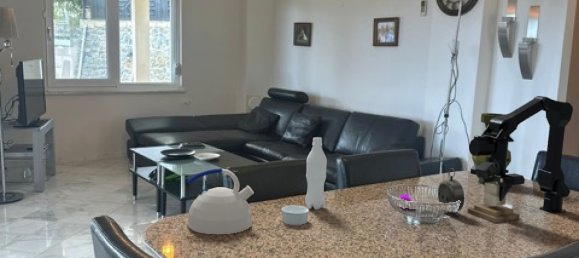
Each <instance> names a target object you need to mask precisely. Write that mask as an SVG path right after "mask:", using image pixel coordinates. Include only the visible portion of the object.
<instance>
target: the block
mask: <svg viewBox="0 0 579 258" xmlns="http://www.w3.org/2000/svg"><path fill="white" fill-rule="evenodd" d="M499 192H500V186H499V184H498V182H496V181H494V182H486V183H485V187H484V189H483V200H482V201H483V204H486V203H487V204H490V205H493V206H499V205H502V206H505V205H506V196H507V195H506V196H505V197H504V199H503V200H502V201H499Z"/></svg>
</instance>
